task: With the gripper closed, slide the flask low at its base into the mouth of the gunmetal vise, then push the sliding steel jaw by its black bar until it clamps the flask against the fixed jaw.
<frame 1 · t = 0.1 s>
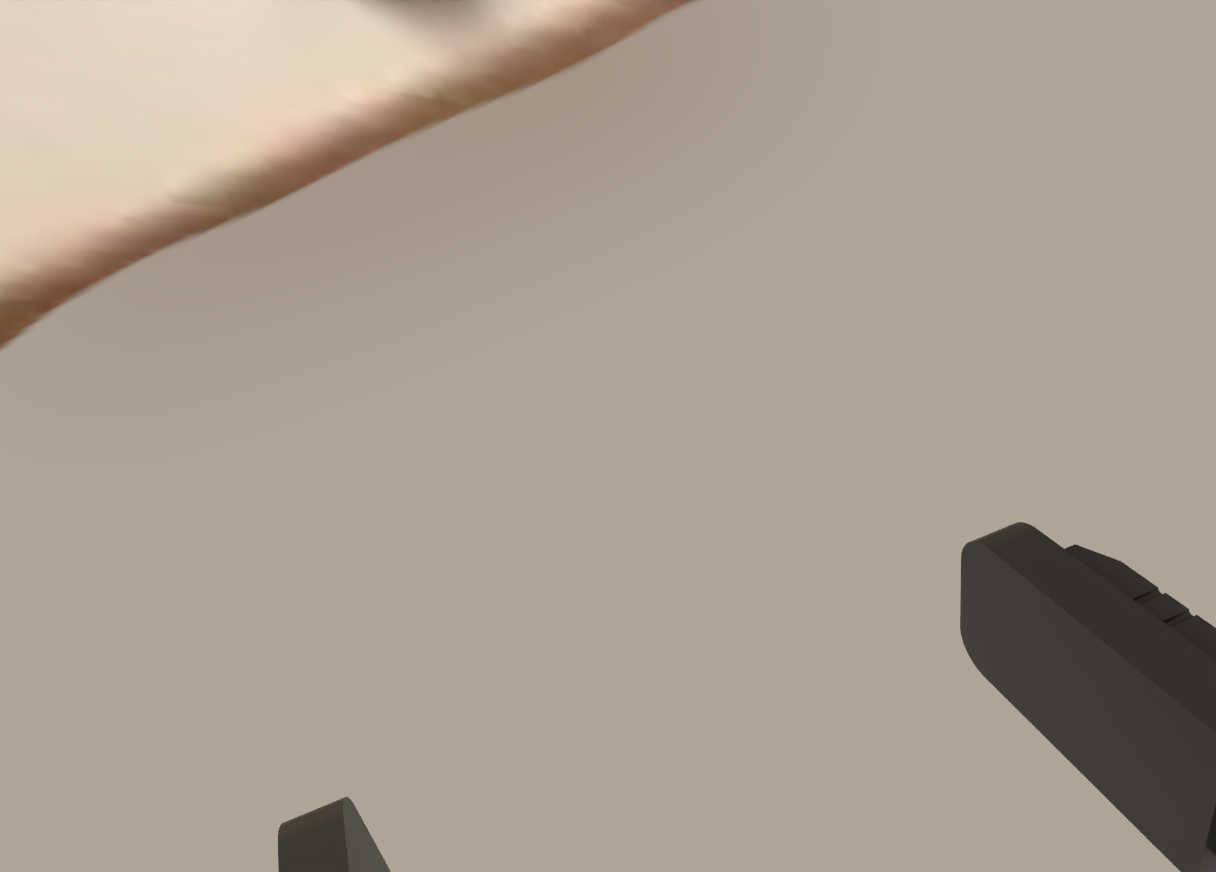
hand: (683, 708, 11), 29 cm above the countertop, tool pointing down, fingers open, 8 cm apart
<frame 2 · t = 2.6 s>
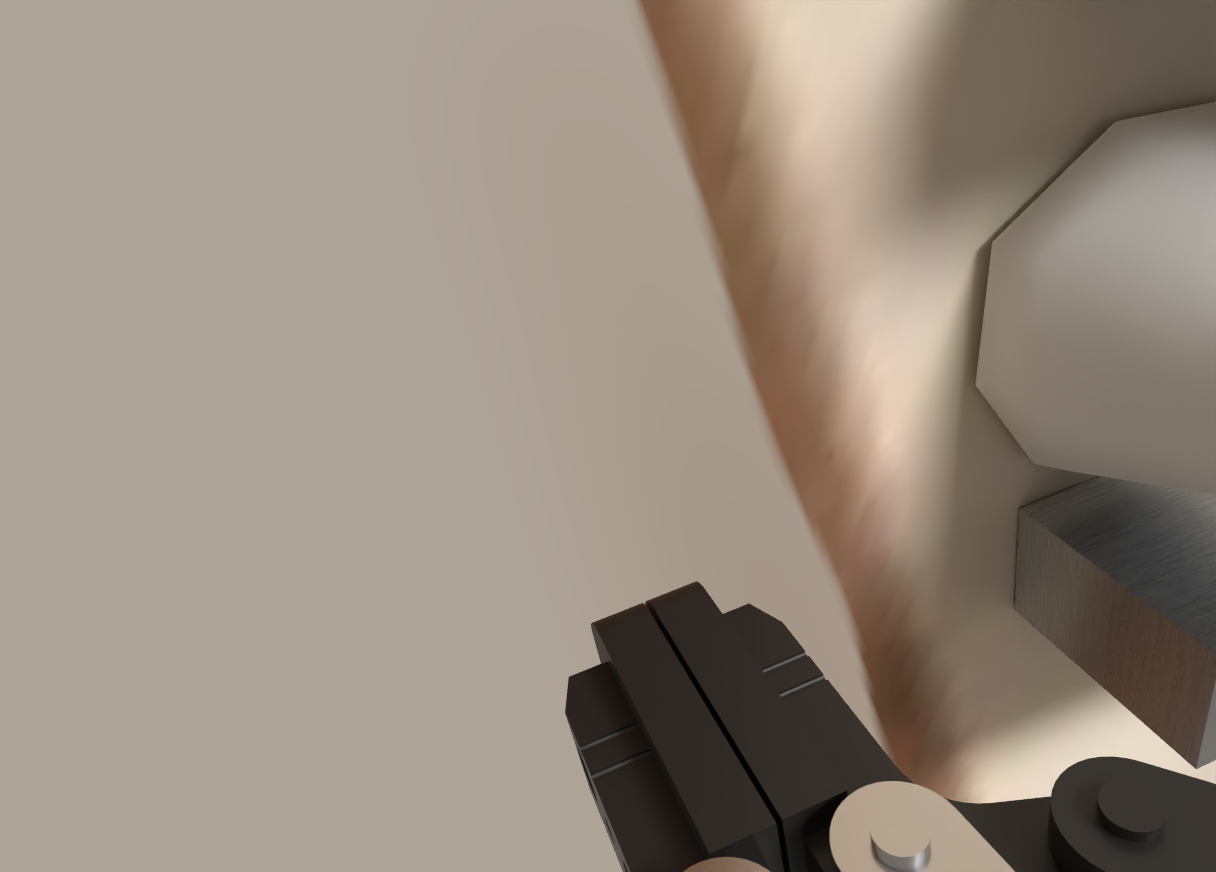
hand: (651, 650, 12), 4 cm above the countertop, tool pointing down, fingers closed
flask: (1112, 286, 18), on the countertop
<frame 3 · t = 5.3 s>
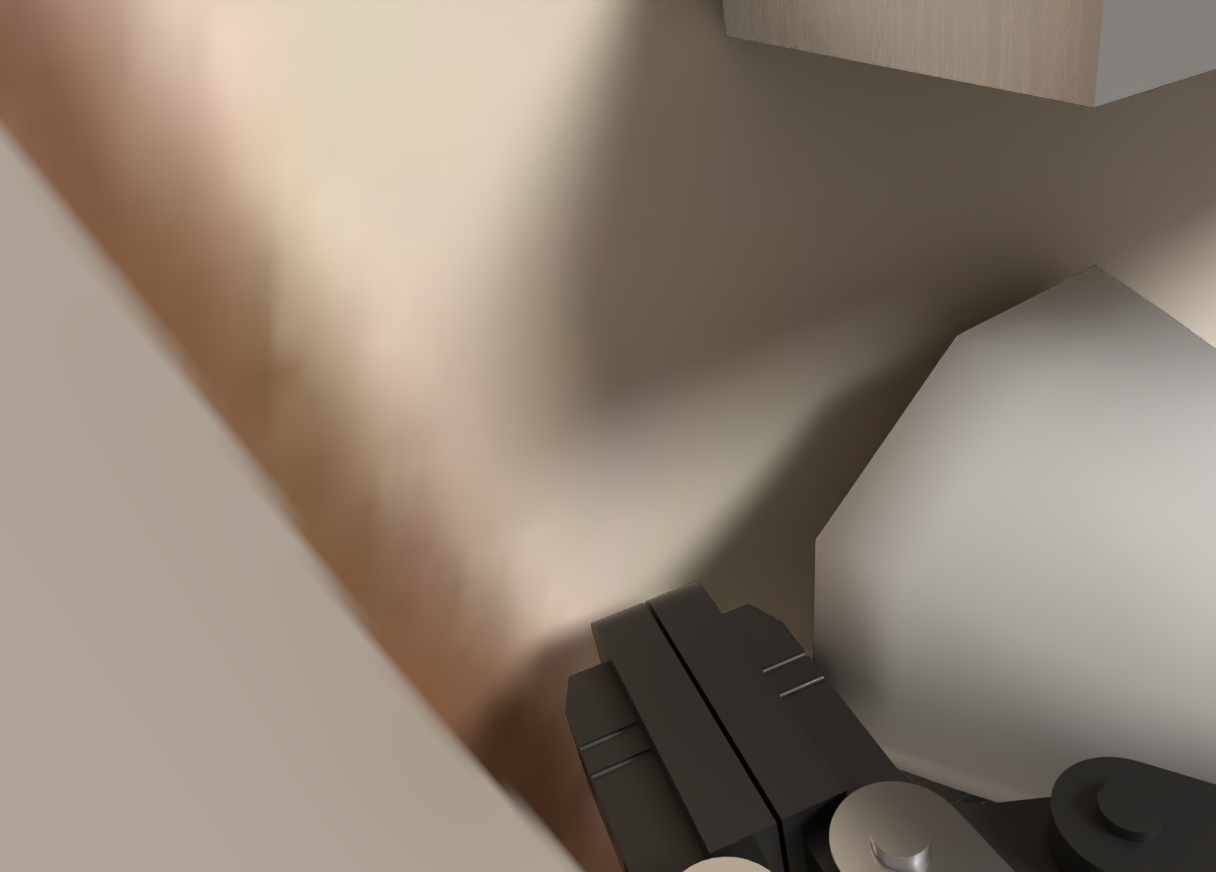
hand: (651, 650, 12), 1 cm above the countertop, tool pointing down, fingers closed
flask: (955, 519, 13), point 1 cm above the countertop, touching gripper
vise fixed: (1202, 622, 18), on the countertop
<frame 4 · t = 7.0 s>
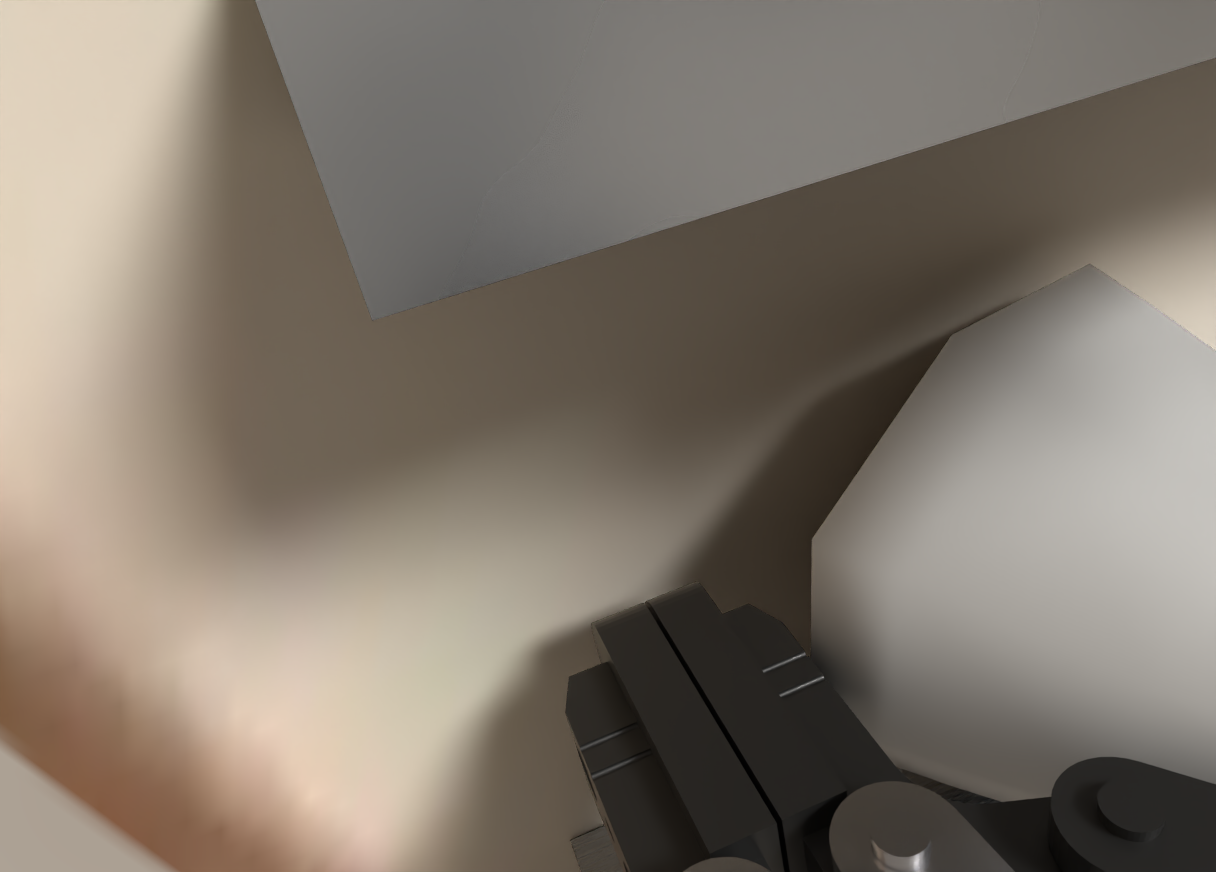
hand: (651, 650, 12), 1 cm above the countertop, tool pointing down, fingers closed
flask: (952, 518, 13), point 1 cm above the countertop, touching gripper, hand
vise fixed: (1016, 701, 17), on the countertop
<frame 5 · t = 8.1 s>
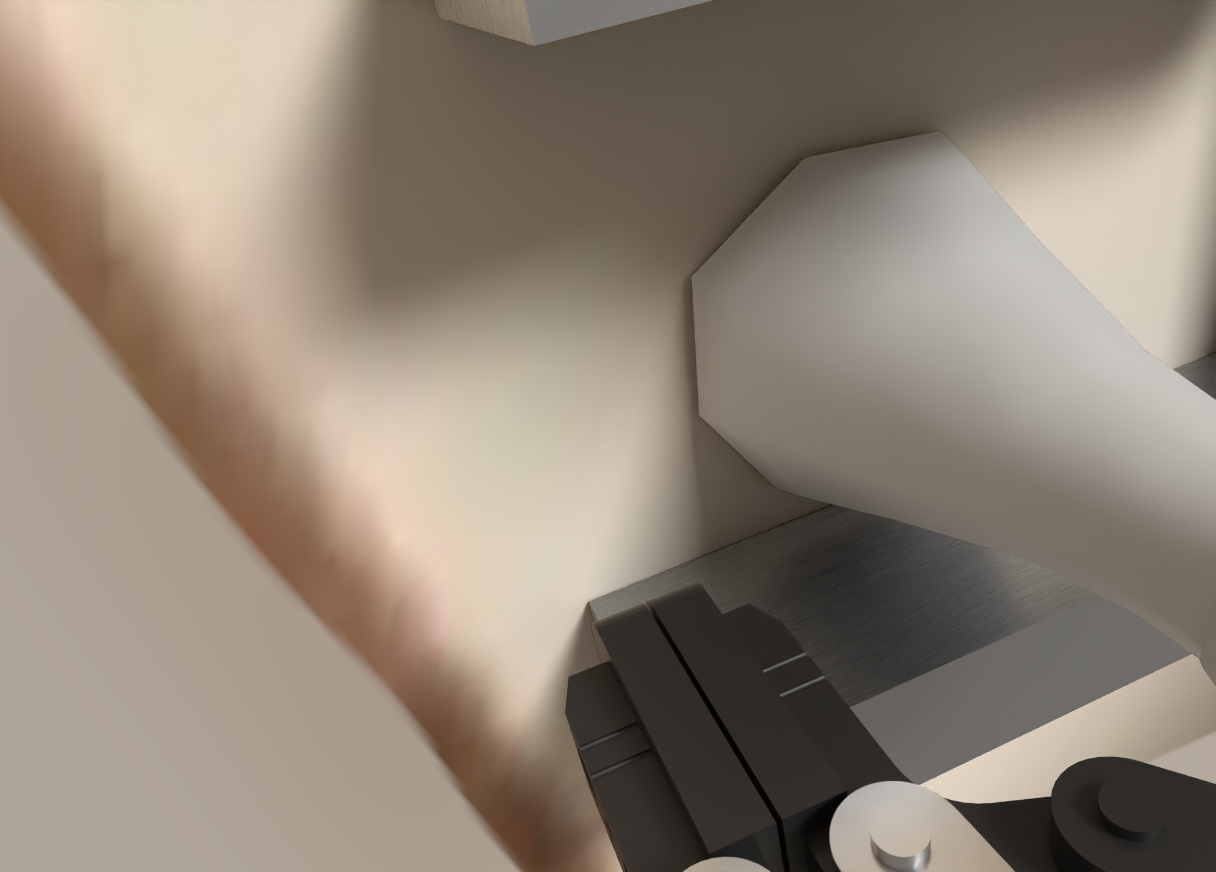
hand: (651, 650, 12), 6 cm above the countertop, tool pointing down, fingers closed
flask: (839, 314, 18), on the countertop
vise fixed: (936, 514, 22), on the countertop
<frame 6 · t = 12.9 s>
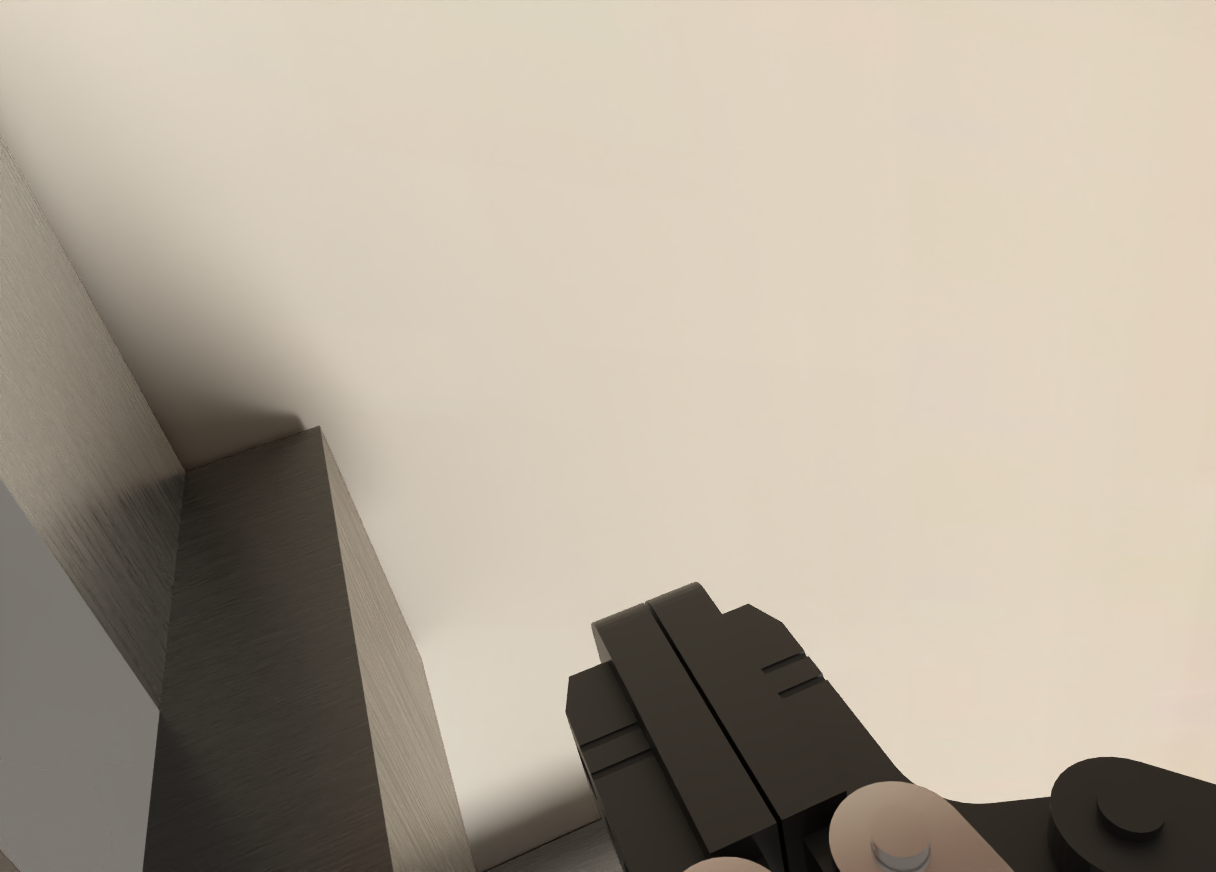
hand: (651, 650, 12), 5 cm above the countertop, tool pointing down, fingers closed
vise jaw sliding: (258, 822, 11), point 5 cm above the countertop, slide at 4.5 cm, touching hand, flask
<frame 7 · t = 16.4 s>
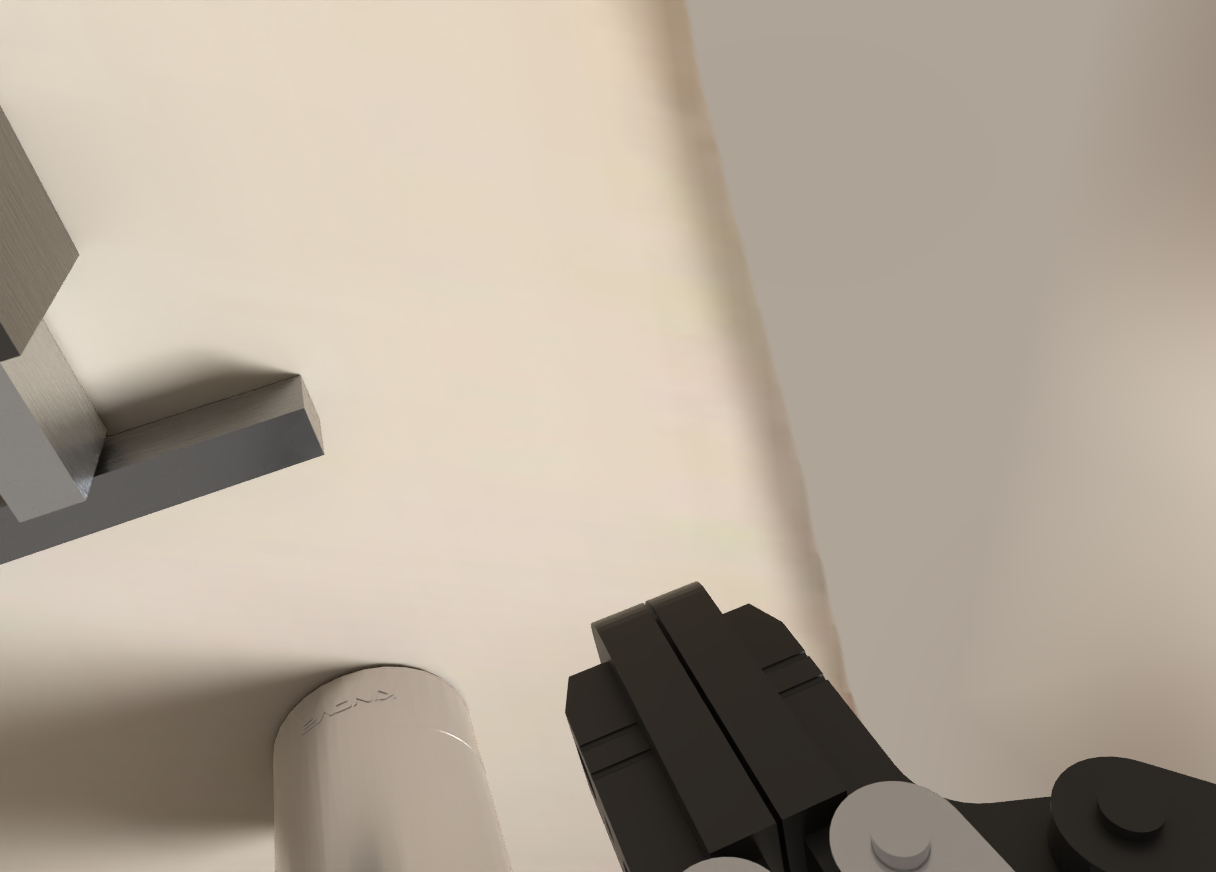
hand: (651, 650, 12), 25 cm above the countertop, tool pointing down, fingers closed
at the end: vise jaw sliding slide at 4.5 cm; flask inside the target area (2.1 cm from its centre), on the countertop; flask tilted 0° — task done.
